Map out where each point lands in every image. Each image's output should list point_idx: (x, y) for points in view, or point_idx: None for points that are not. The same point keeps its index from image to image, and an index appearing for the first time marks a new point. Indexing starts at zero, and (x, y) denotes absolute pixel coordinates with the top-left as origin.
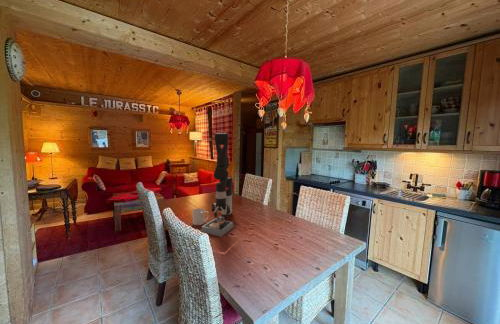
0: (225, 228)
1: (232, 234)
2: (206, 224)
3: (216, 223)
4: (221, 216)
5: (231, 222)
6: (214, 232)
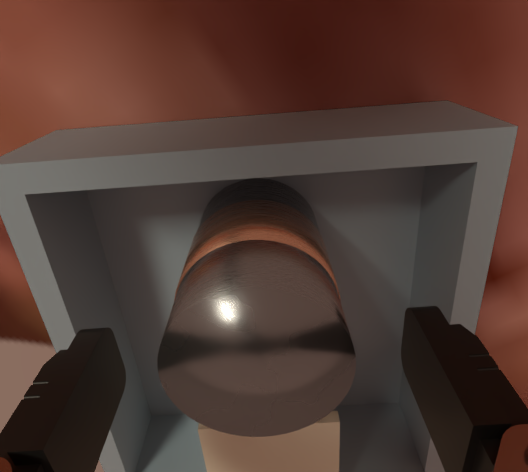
0: None
1: (509, 278)
2: (111, 439)
3: (276, 435)
4: (238, 319)
5: (482, 167)
6: None
